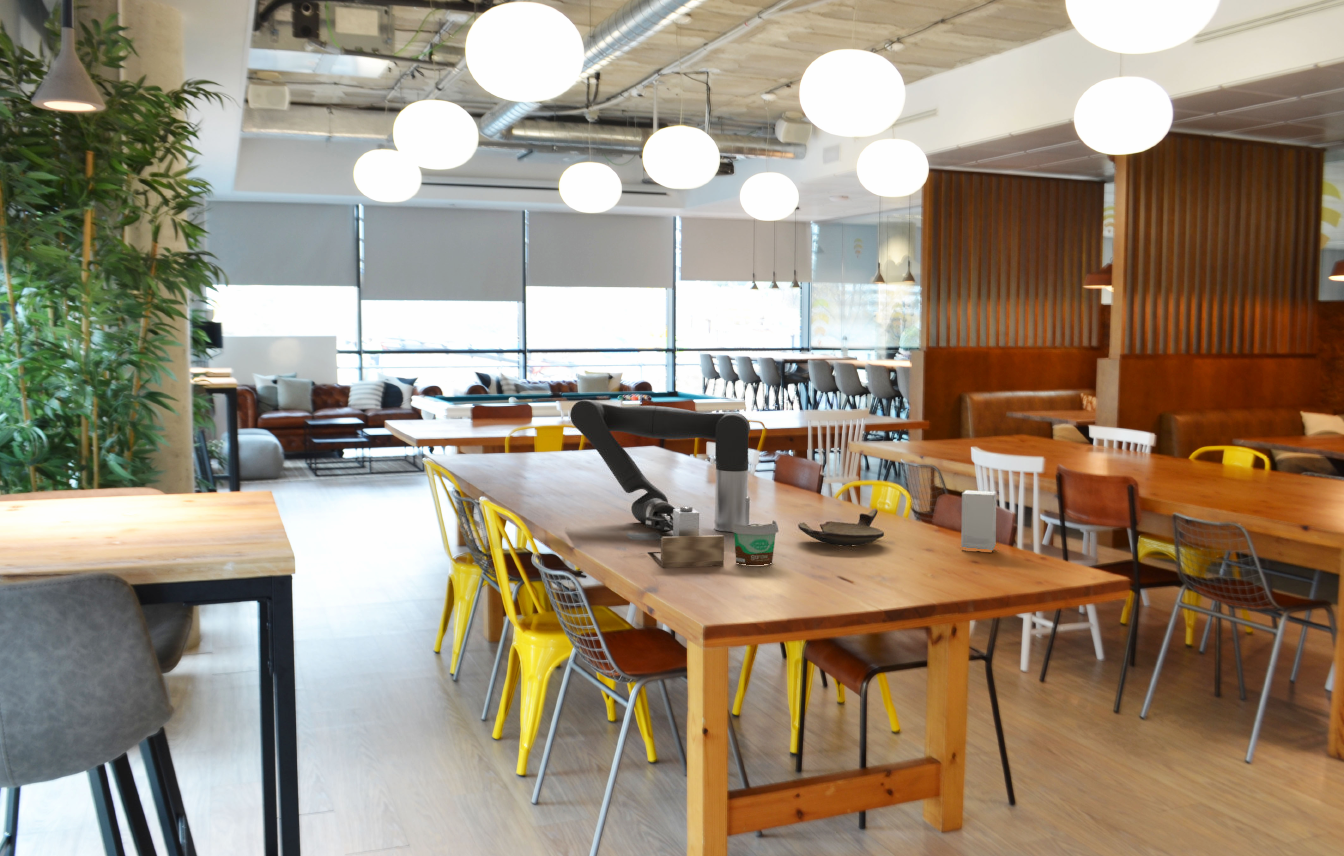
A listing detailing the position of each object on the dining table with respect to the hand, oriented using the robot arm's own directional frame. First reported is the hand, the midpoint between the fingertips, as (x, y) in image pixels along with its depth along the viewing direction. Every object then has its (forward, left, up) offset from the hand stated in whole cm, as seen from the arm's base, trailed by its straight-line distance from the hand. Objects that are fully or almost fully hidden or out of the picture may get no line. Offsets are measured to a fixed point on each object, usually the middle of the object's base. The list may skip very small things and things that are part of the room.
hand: (676, 527), depth 266 cm
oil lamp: (-49, -4, -7) cm, 49 cm away
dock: (0, +8, -6) cm, 10 cm away
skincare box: (-80, +9, -7) cm, 80 cm away
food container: (-17, +17, -7) cm, 25 cm away
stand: (+5, -14, -6) cm, 16 cm away
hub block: (0, +10, -5) cm, 11 cm away
